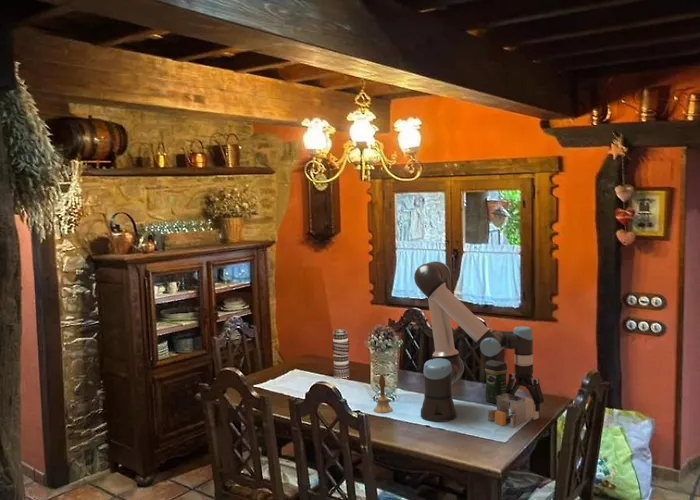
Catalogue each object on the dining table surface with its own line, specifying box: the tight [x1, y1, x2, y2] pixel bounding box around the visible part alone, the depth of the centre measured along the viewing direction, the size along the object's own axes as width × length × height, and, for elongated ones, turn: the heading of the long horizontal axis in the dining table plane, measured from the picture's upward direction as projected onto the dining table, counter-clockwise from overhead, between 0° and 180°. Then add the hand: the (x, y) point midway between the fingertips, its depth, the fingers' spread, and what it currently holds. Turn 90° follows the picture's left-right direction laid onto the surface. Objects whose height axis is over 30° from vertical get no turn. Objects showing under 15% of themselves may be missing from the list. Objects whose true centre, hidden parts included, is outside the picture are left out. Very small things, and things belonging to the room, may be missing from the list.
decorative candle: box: [331, 328, 351, 380], centre depth 351 cm, size 9×9×25 cm
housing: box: [487, 393, 527, 429], centre depth 274 cm, size 10×13×10 cm
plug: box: [494, 396, 534, 427], centre depth 276 cm, size 19×5×7 cm, turn 127°
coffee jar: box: [484, 359, 508, 405], centre depth 301 cm, size 10×8×19 cm
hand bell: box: [373, 373, 393, 414], centre depth 293 cm, size 8×8×16 cm
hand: (524, 415), depth 281 cm, fingers open, 11 cm apart
